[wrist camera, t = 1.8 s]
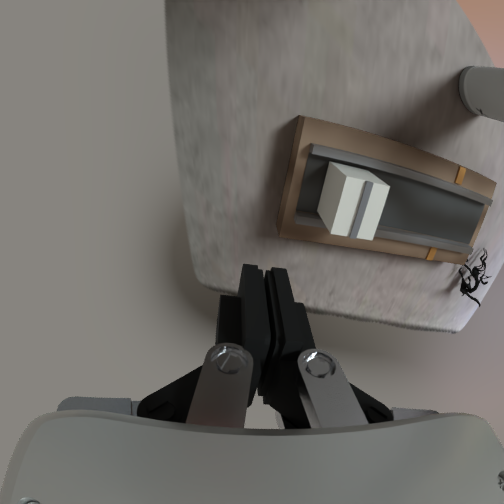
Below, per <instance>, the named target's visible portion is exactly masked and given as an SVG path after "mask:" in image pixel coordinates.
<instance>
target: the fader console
mask: <svg viewBox="0 0 504 504" xmlns="http://www.w3.org/2000/svg"><path fill="white" fill-rule="evenodd" d="M329 161H330V162H335V163H339V164H344V165H348V166H352V167H356V168H360V169H364V170H368V171H369V172H371V173H372V174H374V175H375V176H376V177H378V178H379V179H380V180H382V181H383V182H385V183H386V184H387V185H389V186H390V188H389V192H388V195H387V198H386V201H385V204H384V208H383V211H382V214H381V217H380V220H379V223H378V226H377V228H376V231H375V234H374V237H373V240H366V239H360V238H356V239H352V238H349V237H348V236H341V235H335V234H330V232H329V230H328V229H327V227H326V225H325V224H324V222H323V220H322V218H321V217H320V215H319V213H318V212H317V209H318V205H319V201H320V197H321V193H322V189H323V185H324V181H325V177H326V173H327V169H328V165H329ZM495 186H496V182H494V181H492V180H491V179H489V178H487V177H485V176H483V175H481V174H479V173H477V172H474V171H472V170H470V169H468V168H465V167H463V166H461V165H459V164H456V163H454V162H451V161H449V160H447V159H444V158H442V157H439V156H436V155H434V154H431V153H429V152H426V151H423V150H421V149H418V148H415V147H412V146H409V145H406V144H404V143H401V142H398V141H395V140H392V139H388V138H385V137H382V136H379V135H376V134H372V133H369V132H365V131H362V130H358V129H355V128H351V127H347V126H344V125H340V124H336V123H332V122H328V121H324V120H319V119H315V118H311V117H306V116H301V115H299V117H298V122H297V127H296V132H295V137H294V142H293V147H292V152H291V157H290V161H289V166H288V171H287V176H286V181H285V185H284V190H283V195H282V199H281V204H280V209H279V213H278V218H277V223H276V226H277V230H278V234H279V237H281V238H289V239H296V240H303V241H310V242H317V243H324V244H331V245H338V246H345V247H352V248H359V249H365V250H372V251H379V252H385V253H392V254H398V255H404V256H411V257H417V258H423V259H426V260H431V261H432V260H436V261H442V262H448V263H454V264H460V265H464V264H465V262H466V260H467V258H468V256H469V254H470V255H471V254H472V252H473V248H472V247H473V245H474V242H475V240H476V238H477V235H478V233H479V230H480V228H481V225H482V223H483V220H484V218H485V215H486V212H487V210H488V207H489V206H491V204H492V202H493V200H491V198H492V196H493V193H494V190H495Z"/></svg>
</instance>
